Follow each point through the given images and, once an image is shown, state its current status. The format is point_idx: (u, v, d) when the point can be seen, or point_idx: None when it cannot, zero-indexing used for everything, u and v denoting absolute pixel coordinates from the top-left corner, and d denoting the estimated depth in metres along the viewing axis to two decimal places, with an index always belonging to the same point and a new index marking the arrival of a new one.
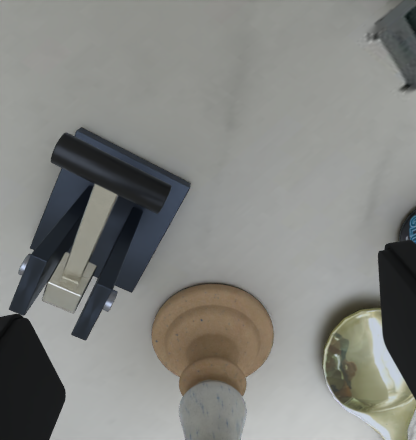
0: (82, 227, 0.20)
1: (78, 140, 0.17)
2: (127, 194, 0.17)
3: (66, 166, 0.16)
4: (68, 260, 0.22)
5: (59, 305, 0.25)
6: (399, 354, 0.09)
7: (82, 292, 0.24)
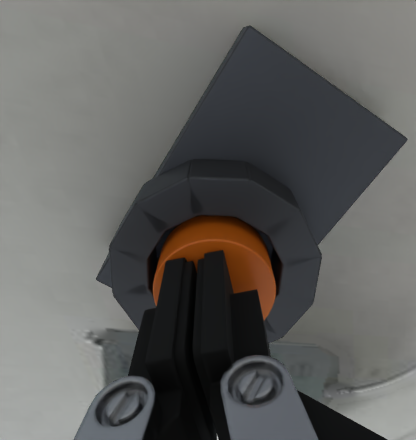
0: None
1: None
2: None
3: None
4: None
5: None
6: None
7: None
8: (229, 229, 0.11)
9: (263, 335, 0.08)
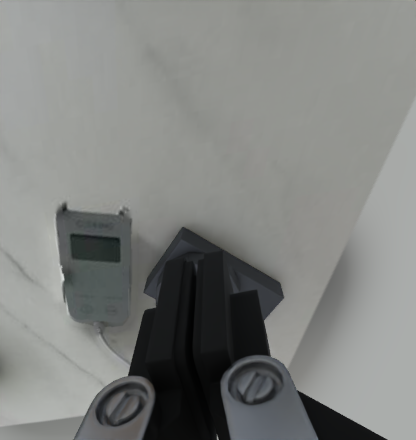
0: None
1: None
2: None
3: None
4: None
5: None
6: None
7: None
8: None
9: (263, 335, 0.08)
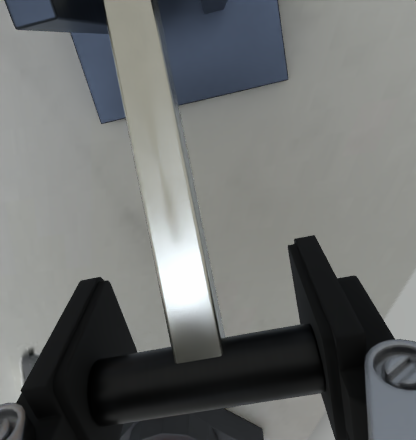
0: (184, 197, 0.08)
1: None
2: (158, 397, 0.08)
3: (289, 371, 0.08)
4: (155, 32, 0.08)
5: None
6: None
7: None
8: None
9: (381, 321, 0.08)
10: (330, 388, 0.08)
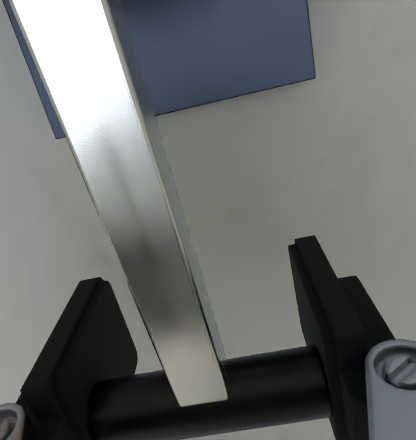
0: (178, 265, 0.06)
1: None
2: (164, 436, 0.08)
3: (297, 413, 0.08)
4: (103, 16, 0.05)
5: None
6: (306, 337, 0.10)
7: None
8: None
9: (382, 321, 0.08)
10: (330, 388, 0.08)
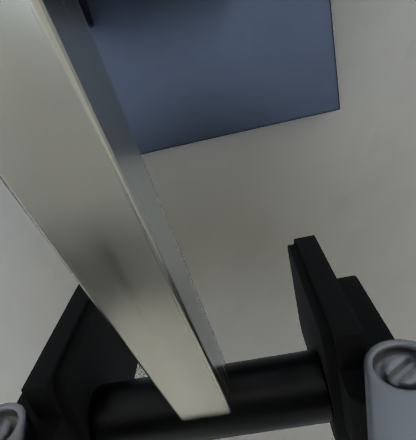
0: (180, 327, 0.06)
1: None
2: None
3: (299, 423, 0.08)
4: (68, 86, 0.03)
5: None
6: (306, 337, 0.10)
7: None
8: None
9: (381, 321, 0.08)
10: (330, 388, 0.08)
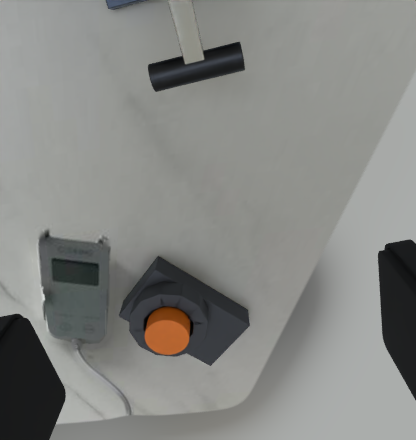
0: None
1: None
2: (180, 78, 0.21)
3: (230, 63, 0.20)
4: None
5: None
6: (399, 354, 0.09)
7: None
8: None
9: None
10: None
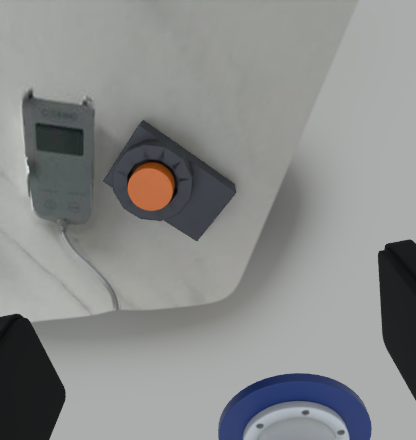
0: None
1: None
2: None
3: None
4: None
5: None
6: (399, 354, 0.09)
7: None
8: None
9: None
10: None
